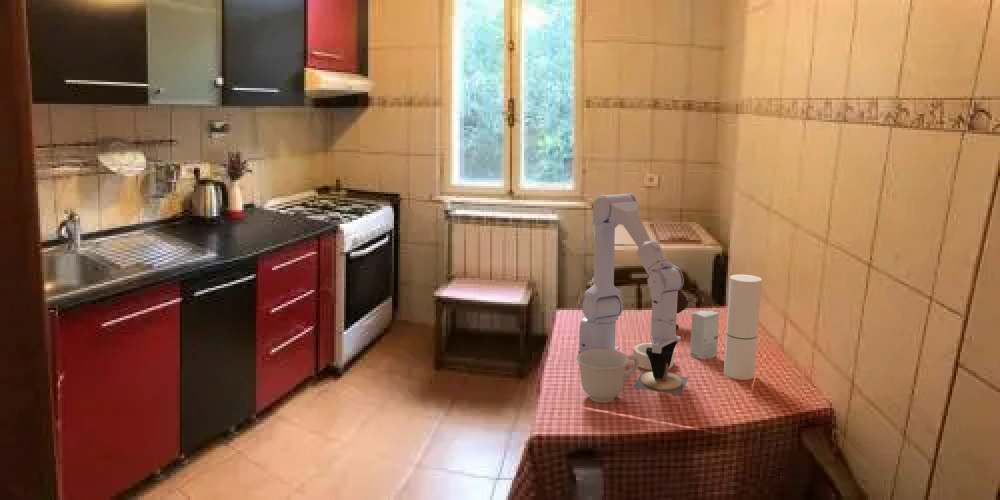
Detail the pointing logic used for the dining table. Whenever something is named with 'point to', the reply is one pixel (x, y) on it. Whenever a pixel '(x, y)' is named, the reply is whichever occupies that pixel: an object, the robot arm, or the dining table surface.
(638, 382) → the mat
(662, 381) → the lid
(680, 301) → the ice cream bowl
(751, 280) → the cylindrical container
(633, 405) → the dining table surface
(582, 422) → the dining table surface
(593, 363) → the teacup
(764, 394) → the dining table surface
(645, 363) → the bowl
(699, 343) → the skincare box
